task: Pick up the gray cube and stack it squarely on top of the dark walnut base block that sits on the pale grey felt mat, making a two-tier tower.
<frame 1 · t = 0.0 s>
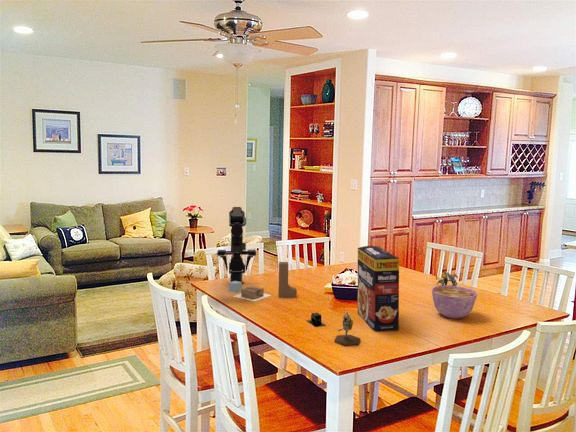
hand: (236, 270, 243), 15 cm above the table, tool pointing down, fingers open, 9 cm apart
gray cube: (235, 291, 263), on the table
walnut base: (252, 296, 253), resting on felt mat
cereal box: (376, 321, 219), on the table
wooden block: (287, 297, 254), on the table
robot figurine: (347, 341, 195), on the table
felt mat: (252, 296, 254), on the table
black block: (316, 324, 216), on the table
bowl of food: (452, 316, 229), on the table
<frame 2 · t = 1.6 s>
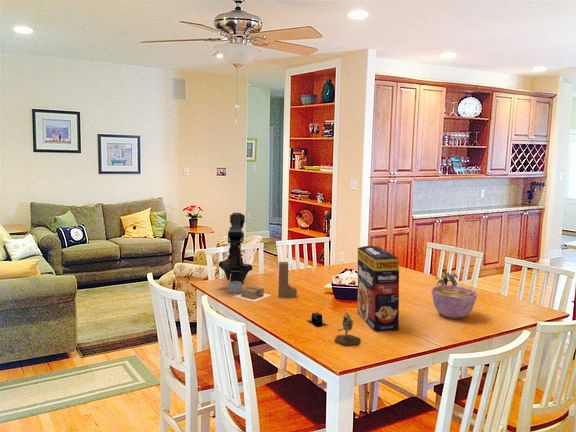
hand: (235, 281, 263), 5 cm above the table, tool pointing down, fingers open, 9 cm apart
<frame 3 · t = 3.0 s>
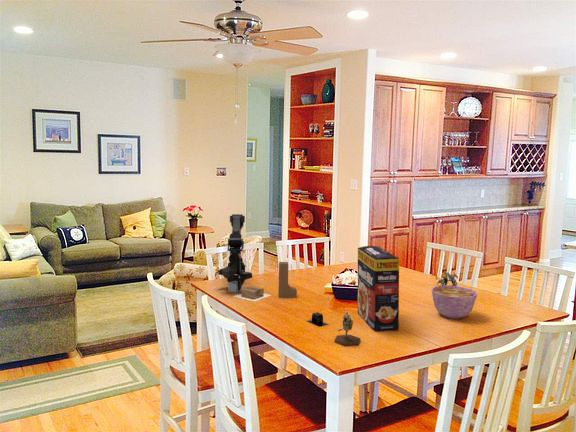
hand: (235, 289, 263), 1 cm above the table, tool pointing down, fingers closed on gray cube, 5 cm apart
gray cube: (235, 291, 263), on the table, touching gripper
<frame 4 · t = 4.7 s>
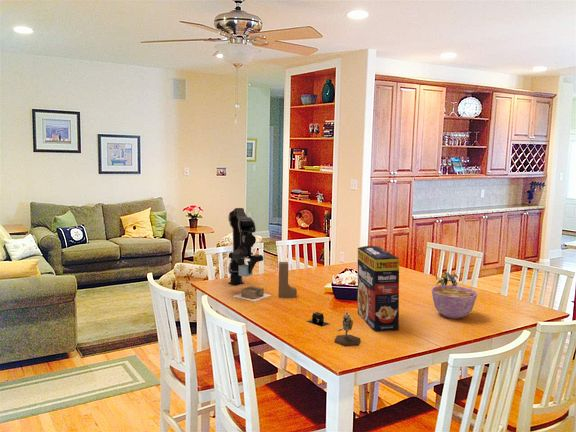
hand: (245, 273, 255), 12 cm above the table, tool pointing down, fingers closed on gray cube, 5 cm apart
gray cube: (245, 275, 255), point 11 cm above the table, touching gripper
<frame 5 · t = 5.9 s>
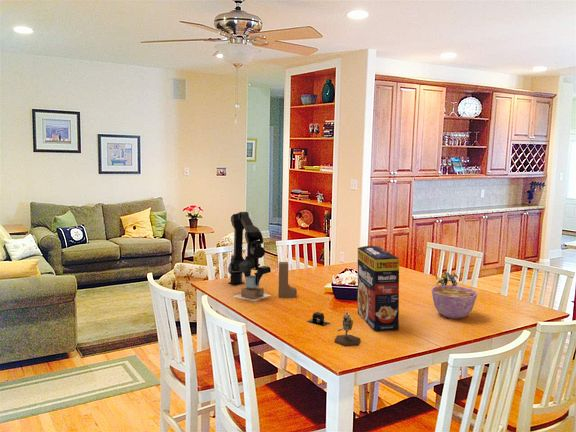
hand: (252, 284, 252), 7 cm above the table, tool pointing down, fingers closed on gray cube, 5 cm apart
gray cube: (252, 286, 252), point 6 cm above the table, touching gripper
when the fingers open (6 cm above the table, at t = 6.7 s): gray cube drops 1 cm, resting on walnut base.
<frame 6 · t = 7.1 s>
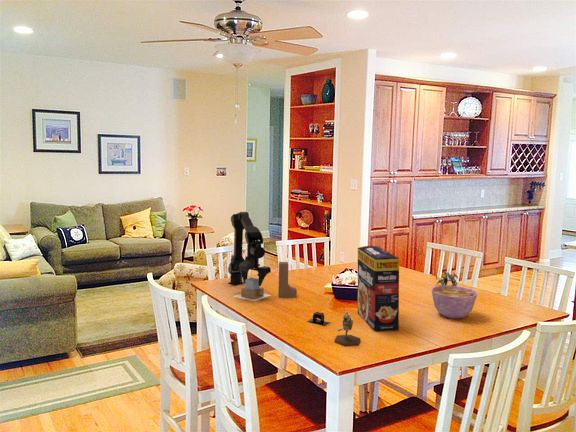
hand: (252, 284, 252), 6 cm above the table, tool pointing down, fingers open, 9 cm apart
gray cube: (252, 288, 252), point 4 cm above the table, touching walnut base
walnut base: (252, 296, 253), resting on felt mat, touching gray cube
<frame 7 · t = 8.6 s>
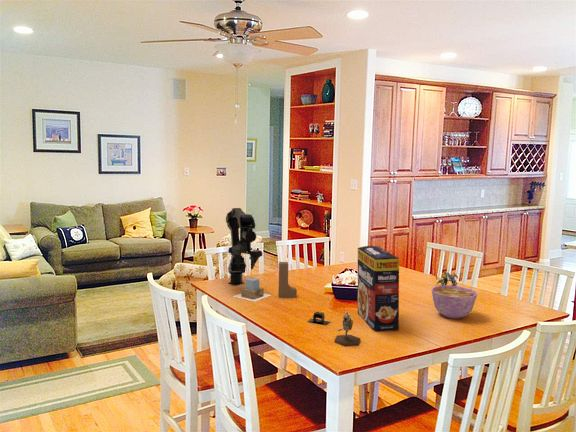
hand: (245, 267, 262), 13 cm above the table, tool pointing down, fingers open, 9 cm apart
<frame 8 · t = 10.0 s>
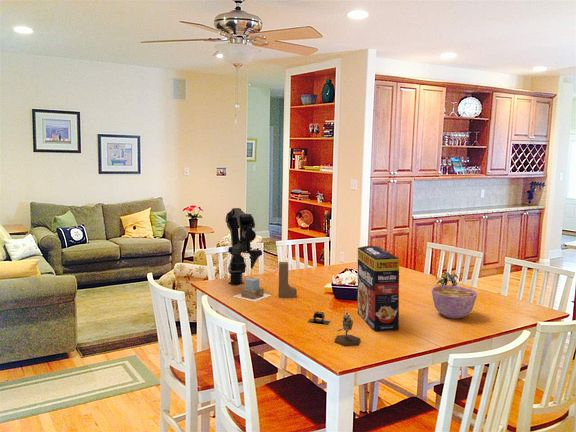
hand: (244, 267, 262), 13 cm above the table, tool pointing down, fingers open, 9 cm apart
at the end: gray cube 0.1 cm off-centre on the walnut base, point 4.0 cm above the walnut base's base; gray cube touching walnut base; the gripper is holding nothing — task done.
